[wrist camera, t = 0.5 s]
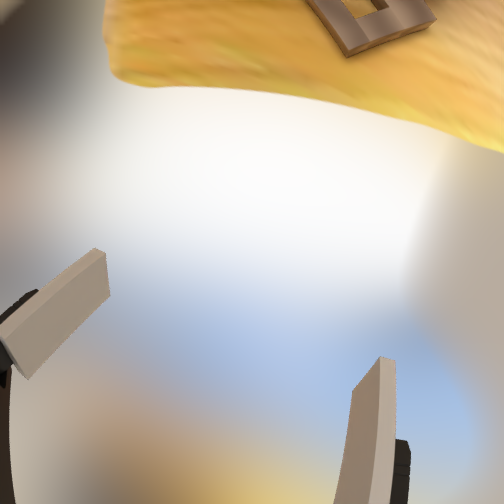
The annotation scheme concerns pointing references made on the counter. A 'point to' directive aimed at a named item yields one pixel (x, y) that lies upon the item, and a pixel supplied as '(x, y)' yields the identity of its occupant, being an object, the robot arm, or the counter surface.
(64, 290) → the robot arm
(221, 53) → the counter surface
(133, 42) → the counter surface
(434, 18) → the wooden post with frame
